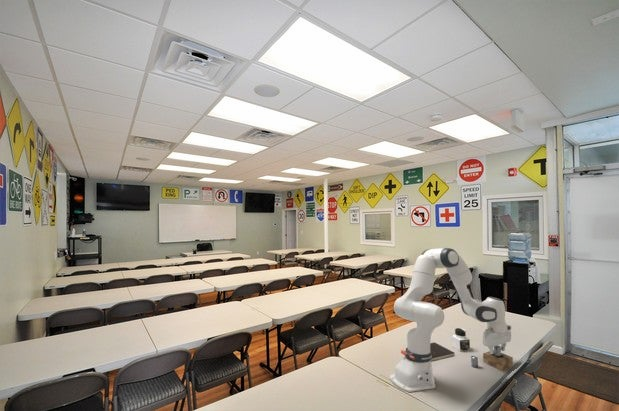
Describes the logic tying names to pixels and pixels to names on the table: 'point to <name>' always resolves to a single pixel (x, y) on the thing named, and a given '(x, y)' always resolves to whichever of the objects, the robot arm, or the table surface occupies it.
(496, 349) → the long pin
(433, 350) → the hardcover book
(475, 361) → the short pin
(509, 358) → the hole block
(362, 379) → the table surface
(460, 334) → the medicine bottle
